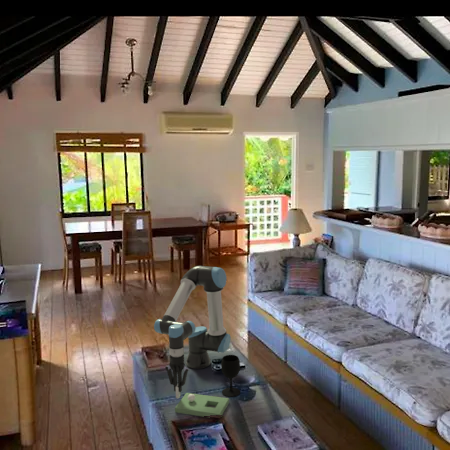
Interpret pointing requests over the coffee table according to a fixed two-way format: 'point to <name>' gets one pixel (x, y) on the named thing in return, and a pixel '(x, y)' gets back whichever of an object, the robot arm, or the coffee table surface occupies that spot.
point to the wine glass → (230, 373)
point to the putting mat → (202, 405)
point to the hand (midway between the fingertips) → (178, 397)
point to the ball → (191, 397)
